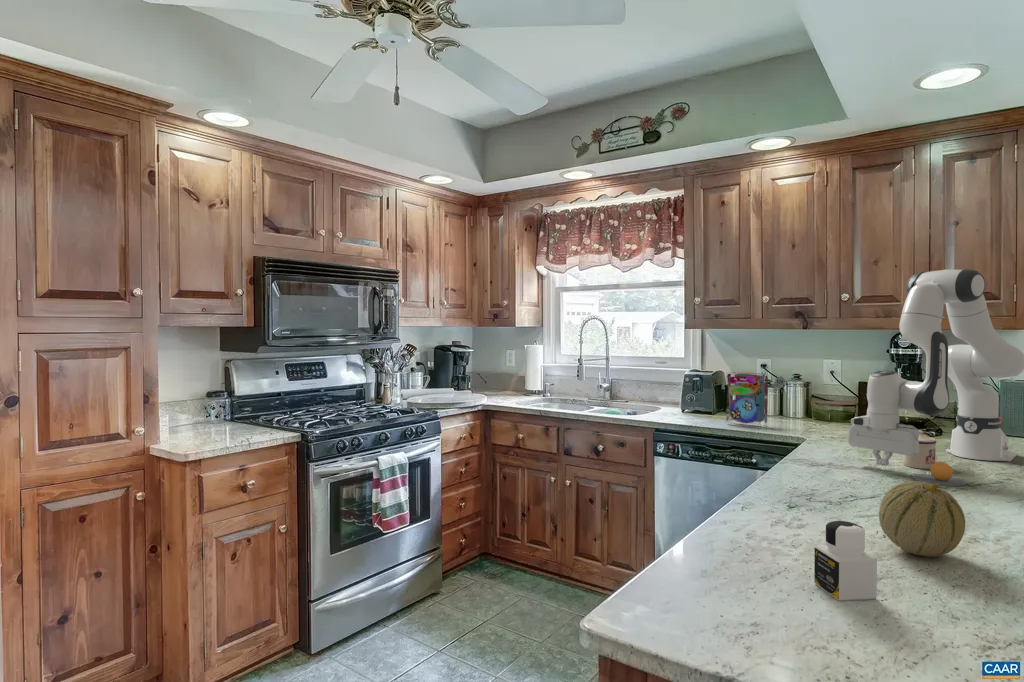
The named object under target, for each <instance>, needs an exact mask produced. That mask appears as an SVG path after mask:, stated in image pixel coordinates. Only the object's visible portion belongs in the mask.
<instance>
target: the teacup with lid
mask: <svg viewBox="0 0 1024 682" xmlns="http://www.w3.org/2000/svg"><path fill="white" fill-rule="evenodd" d="M918 431H919V438H918V441H919V453H918V454H917V455H914V456H910V455H904V454H902V455H903V456H902V457H903V461H902V462H903V465H904V466H905V467H909V468H913V469H919V470H920V469H921V470H930V468H931V466H932V465H933V464H934V463H936V444H937V440H936V439H935V438H933V437H930V436H929V435H927V434H924V431H923V430H920V429H918Z"/></svg>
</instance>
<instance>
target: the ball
mask: <svg viewBox="0 0 1024 682" xmlns="http://www.w3.org/2000/svg"><path fill="white" fill-rule="evenodd" d="M929 472H930V474H931V475H932V476H933V477H934V478H935V479H937V480H940V481H946V480H949V479H950V478H951V477H953V475H954V471H953V468H952V466H951V465H950V464H948V463H946V462H943V461H937V462H935V463H934V464H933V465H932V466H931V468H930V469H929Z"/></svg>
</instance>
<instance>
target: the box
mask: <svg viewBox="0 0 1024 682" xmlns="http://www.w3.org/2000/svg"><path fill="white" fill-rule="evenodd" d="M732 374H735V375H734V376H732ZM768 376H769V375H768V374H767V373H763V372H749V371H748V372H745V371H730V373H727V374H726V378H727V380H726V385H727V390H725V391H726V394H725V395H726V396H725V397H726V404H727V405H726V423H729V419H731V421H732V422H731V423H732V424H731V427H732V426H733V427H734V425H736V423H740V425H745V424H749V426H751V427H753V428H755V429H756V426H753V423H754V422H755V423H754V425H757V426H758V425H760V424H761V422H764V425H763V426H764V427H763V426H762V425H760V426H758V427H759V428H762V429H763V428H767V427H768V425H767V424H768V404H769V403H768V401H769V400H768V396H769V395H768V394H769V388H768V386H769V385H768V380H769V377H768ZM785 383H786V380H785V378H784V377H783V376H777V377H776V378H775V381H774V383H773V384H770V386H771V387H776V388H778V389H779V388H782V387H783V386H785ZM732 396H734V397H735V398H734V399H733V398H732ZM728 409H729V410H728ZM728 414H729V416H728ZM733 421H735V422H736V423H735V422H733ZM756 422H757V423H756ZM751 423H752V425H751ZM740 425H739V427H742V428H743V426H740Z"/></svg>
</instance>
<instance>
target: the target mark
mask: <svg viewBox="0 0 1024 682" xmlns="http://www.w3.org/2000/svg"><path fill="white" fill-rule="evenodd" d="M912 479H913V480H915V481H920V482H925V483H928V484H932V485H934V484H939V485H940V486H942V487H943V486H945V487H962V486H965V485H967V481H966V480H963V479H960V478H958V477H955V476H954V477H953V476H952V477H951V478H950V479H949V480H946V481H940V480H937V479H935V478H934V477H933V476H932V475H931V473H928V474H927V473H923V474H922V473H920V474H914V475H913V476H912Z"/></svg>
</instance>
